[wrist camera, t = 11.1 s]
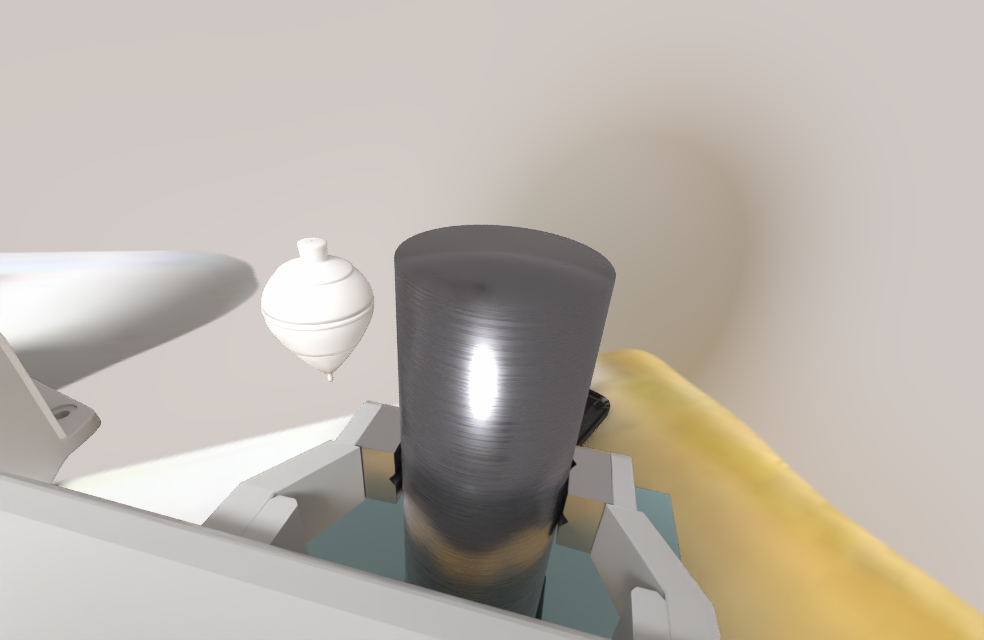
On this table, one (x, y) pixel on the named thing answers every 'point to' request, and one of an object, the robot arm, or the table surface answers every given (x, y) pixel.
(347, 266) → the spinning top
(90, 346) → the table surface
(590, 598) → the hole block
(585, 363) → the pin
